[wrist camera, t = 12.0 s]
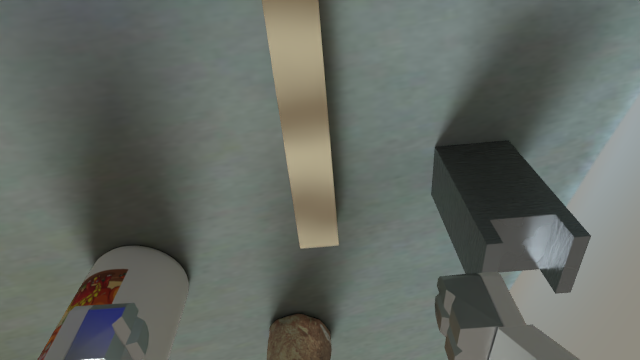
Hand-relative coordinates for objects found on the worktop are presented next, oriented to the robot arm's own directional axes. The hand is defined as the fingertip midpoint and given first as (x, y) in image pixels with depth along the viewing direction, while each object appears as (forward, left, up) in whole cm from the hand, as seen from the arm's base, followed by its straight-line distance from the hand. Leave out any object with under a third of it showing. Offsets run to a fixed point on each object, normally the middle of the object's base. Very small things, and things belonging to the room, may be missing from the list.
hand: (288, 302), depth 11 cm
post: (+8, +11, -17) cm, 22 cm away
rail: (+1, 0, -18) cm, 18 cm away
